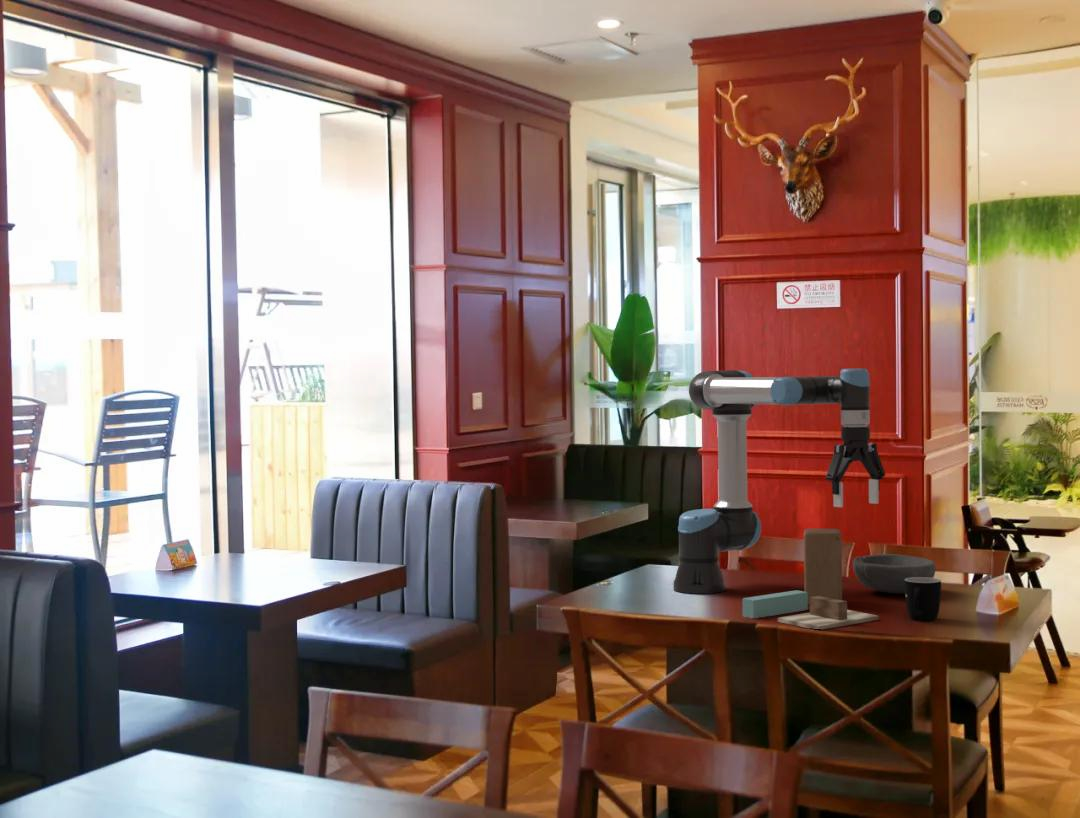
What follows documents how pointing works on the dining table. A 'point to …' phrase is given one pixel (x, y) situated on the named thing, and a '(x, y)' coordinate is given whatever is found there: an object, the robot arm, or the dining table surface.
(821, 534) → the wooden block
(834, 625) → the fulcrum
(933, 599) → the mug
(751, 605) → the bar
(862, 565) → the bowl
